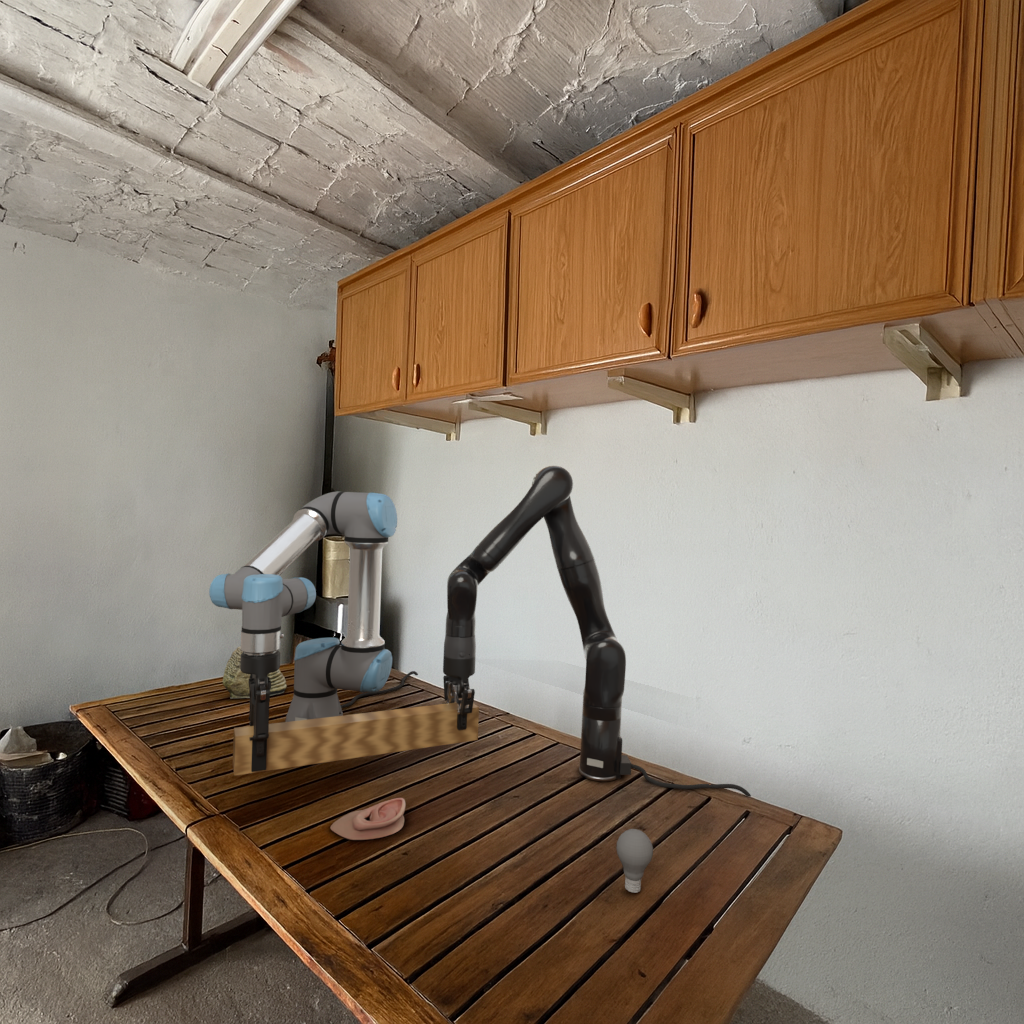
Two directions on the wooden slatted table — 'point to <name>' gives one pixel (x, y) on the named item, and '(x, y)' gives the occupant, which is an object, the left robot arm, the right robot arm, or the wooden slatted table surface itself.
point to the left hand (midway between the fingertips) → (257, 764)
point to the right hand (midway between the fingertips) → (457, 725)
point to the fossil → (247, 678)
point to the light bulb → (634, 857)
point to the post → (354, 736)
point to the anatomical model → (372, 821)
